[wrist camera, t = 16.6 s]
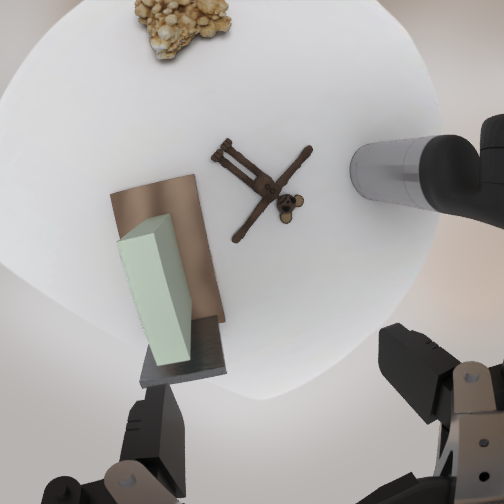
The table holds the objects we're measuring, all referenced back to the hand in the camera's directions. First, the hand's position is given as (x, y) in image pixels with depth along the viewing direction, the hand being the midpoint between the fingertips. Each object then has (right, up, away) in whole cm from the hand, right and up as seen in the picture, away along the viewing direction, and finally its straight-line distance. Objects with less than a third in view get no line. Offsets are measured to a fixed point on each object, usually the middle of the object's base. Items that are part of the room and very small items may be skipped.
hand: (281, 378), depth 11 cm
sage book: (-13, +3, +33) cm, 35 cm away
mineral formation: (-12, +40, +26) cm, 50 cm away
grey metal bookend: (-11, -6, +35) cm, 37 cm away
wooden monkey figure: (0, +15, +35) cm, 38 cm away
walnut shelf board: (-13, +4, +34) cm, 37 cm away
